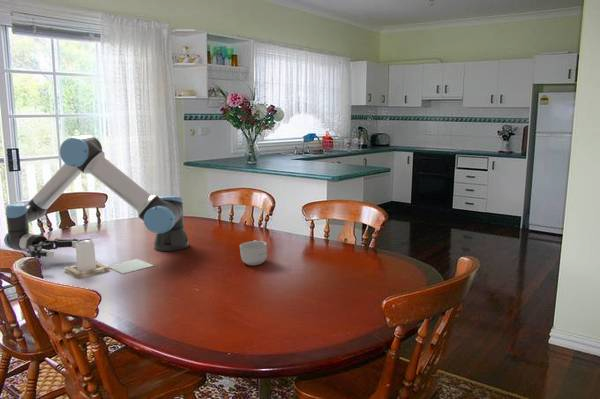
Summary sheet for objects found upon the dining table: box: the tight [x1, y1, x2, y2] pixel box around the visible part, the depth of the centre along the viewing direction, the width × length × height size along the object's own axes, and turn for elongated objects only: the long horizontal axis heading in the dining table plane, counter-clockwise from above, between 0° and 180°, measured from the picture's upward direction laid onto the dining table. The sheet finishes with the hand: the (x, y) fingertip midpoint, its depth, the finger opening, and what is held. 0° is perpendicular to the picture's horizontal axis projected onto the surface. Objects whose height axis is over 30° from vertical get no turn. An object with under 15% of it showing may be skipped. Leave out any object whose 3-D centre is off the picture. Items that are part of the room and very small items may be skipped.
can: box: [75, 238, 96, 272], centre depth 190 cm, size 6×6×12 cm
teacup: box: [239, 239, 268, 266], centre depth 200 cm, size 14×11×8 cm
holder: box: [64, 261, 110, 279], centre depth 191 cm, size 12×12×2 cm
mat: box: [107, 258, 154, 275], centre depth 196 cm, size 13×13×1 cm
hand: (69, 250), depth 194 cm, fingers open, 13 cm apart
